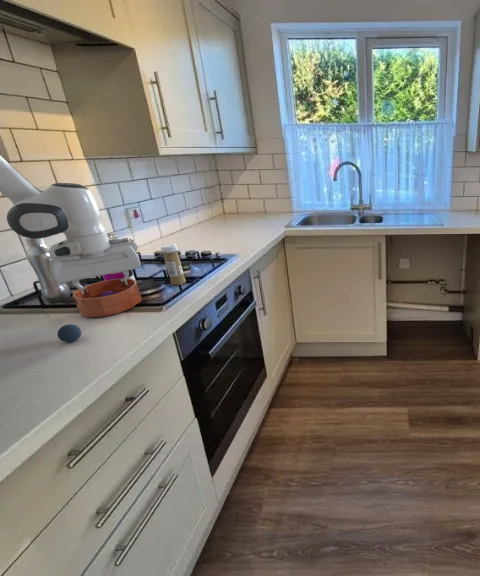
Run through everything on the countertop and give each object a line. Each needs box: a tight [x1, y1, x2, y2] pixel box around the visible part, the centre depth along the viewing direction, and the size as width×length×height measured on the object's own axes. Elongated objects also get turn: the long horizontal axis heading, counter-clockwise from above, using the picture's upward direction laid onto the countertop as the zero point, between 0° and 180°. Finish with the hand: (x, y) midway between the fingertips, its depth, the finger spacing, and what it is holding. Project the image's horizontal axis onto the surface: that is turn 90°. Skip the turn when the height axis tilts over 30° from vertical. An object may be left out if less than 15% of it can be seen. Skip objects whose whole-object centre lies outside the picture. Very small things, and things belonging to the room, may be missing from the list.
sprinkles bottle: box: [160, 243, 187, 286], centre depth 121 cm, size 5×5×14 cm
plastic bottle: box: [25, 237, 71, 303], centre depth 109 cm, size 6×7×20 cm
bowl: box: [72, 278, 143, 318], centre depth 106 cm, size 15×15×6 cm
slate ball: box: [57, 323, 82, 343], centre depth 89 cm, size 4×4×4 cm
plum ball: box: [101, 291, 116, 297], centre depth 106 cm, size 4×4×4 cm
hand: (105, 289), depth 105 cm, fingers open, 8 cm apart
